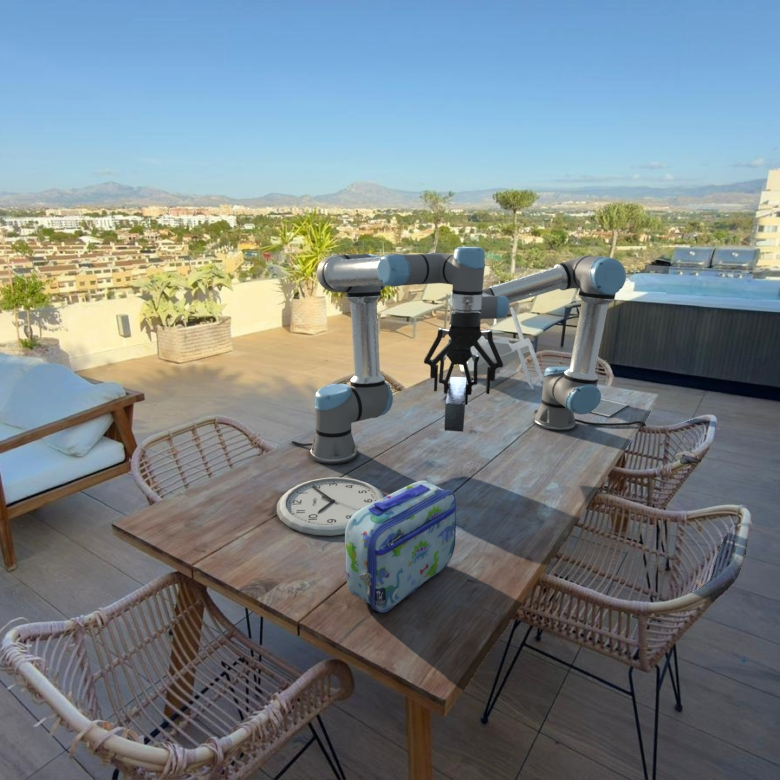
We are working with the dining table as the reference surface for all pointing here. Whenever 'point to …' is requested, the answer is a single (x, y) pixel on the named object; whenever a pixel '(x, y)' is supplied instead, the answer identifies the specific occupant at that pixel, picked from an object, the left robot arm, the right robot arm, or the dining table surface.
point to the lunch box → (399, 543)
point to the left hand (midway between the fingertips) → (461, 391)
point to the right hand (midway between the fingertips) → (457, 402)
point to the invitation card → (608, 407)
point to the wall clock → (325, 504)
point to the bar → (455, 404)
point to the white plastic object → (505, 354)
